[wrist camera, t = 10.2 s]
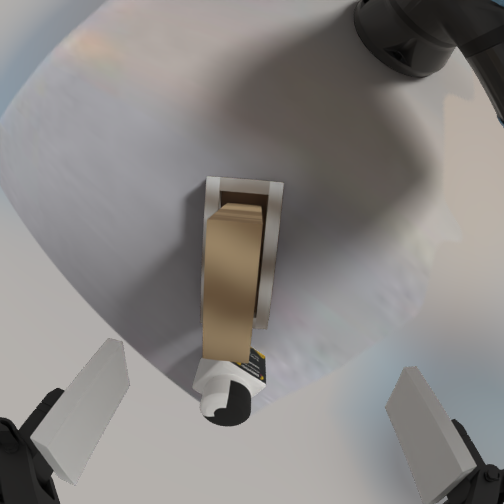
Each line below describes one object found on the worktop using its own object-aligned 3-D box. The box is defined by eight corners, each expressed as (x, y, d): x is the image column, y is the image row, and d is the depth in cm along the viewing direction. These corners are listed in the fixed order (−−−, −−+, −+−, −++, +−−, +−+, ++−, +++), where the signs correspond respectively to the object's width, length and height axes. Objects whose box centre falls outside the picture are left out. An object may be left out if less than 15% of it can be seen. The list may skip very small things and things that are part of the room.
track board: (209, 176, 34) (204, 176, 31) (283, 182, 34) (286, 183, 31) (203, 310, 39) (198, 322, 35) (268, 316, 39) (269, 329, 35)
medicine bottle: (266, 355, 40) (268, 412, 29) (236, 382, 42) (230, 439, 30) (227, 329, 39) (216, 384, 28) (199, 358, 41) (182, 414, 29)
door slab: (227, 202, 34) (207, 219, 20) (261, 205, 34) (262, 224, 20) (221, 295, 37) (202, 358, 23) (252, 298, 37) (248, 363, 23)
